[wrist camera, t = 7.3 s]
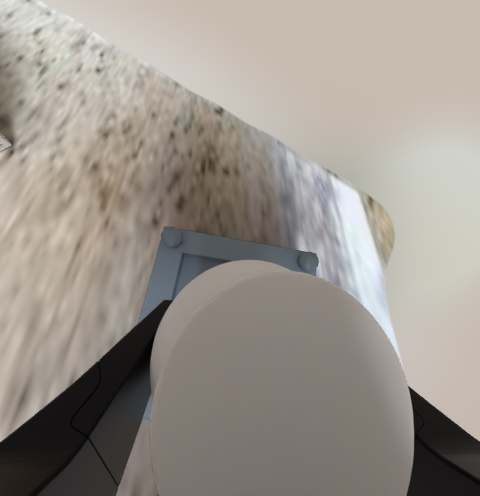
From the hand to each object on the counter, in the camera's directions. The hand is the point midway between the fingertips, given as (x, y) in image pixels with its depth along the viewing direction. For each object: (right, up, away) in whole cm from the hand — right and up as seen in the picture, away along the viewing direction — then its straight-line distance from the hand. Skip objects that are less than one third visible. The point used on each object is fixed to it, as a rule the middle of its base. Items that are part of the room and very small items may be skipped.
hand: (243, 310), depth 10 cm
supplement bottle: (-1, -3, +6) cm, 7 cm away
